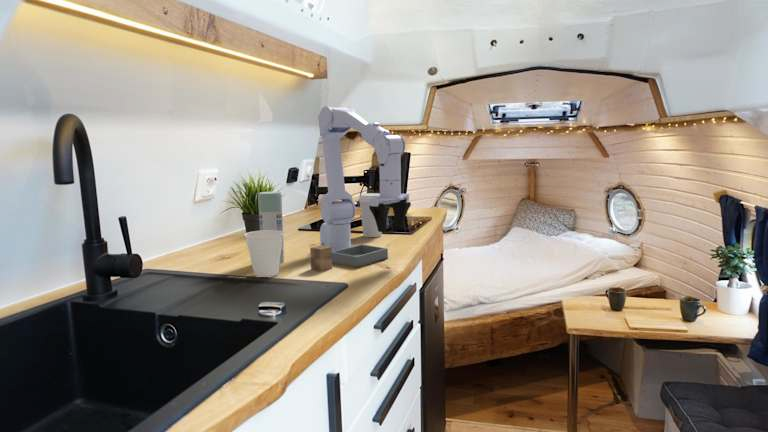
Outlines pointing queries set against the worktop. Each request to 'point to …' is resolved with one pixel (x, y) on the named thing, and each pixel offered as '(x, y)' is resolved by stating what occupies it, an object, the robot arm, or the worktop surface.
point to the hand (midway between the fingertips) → (390, 229)
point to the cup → (265, 251)
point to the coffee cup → (368, 216)
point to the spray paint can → (271, 214)
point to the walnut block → (321, 258)
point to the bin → (359, 255)
